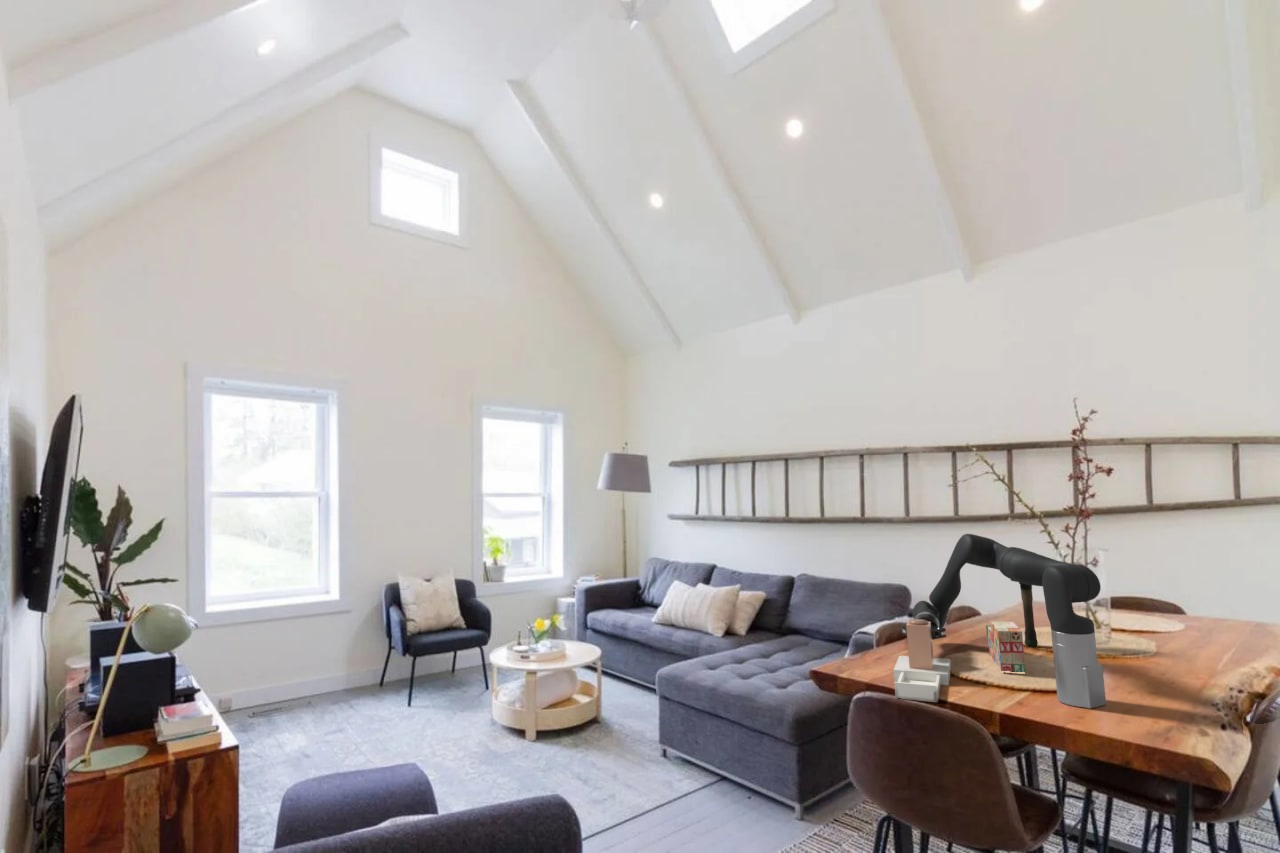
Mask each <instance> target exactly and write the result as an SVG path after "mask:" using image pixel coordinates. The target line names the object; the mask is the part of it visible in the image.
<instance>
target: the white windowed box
mask: <svg viewBox="0 0 1280 853" xmlns="http://www.w3.org/2000/svg"><path fill="white" fill-rule="evenodd" d="M933 659H934V666H933V670H927V669H914V668H910V667H909V655H899V656H898V658H897V661H896V663H895V665H894V668H893V681H894V682H897V681H898V679H899V676H900V673H901V672H904V679H905V680H913V681H925V682H935V681H936V676H937V675H940V682H941V686H949V685H950V678H951V673H950V670H951V671H952V666H951V665H952V664H951V658H940V657H933Z"/></svg>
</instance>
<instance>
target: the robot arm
mask: <svg viewBox="0 0 1280 853" xmlns="http://www.w3.org/2000/svg"><path fill="white" fill-rule="evenodd" d="M966 564H969V565H971V566H972V565H973V566H977V567H981V568H989V569H992V570H993V569H994V570H999V572H1000V573H1001V574H1002V575H1003V576H1004V577H1006V578H1008V579H1009V580H1011V579H1012V580H1014V581H1013V582H1015V581H1017V583H1018V584H1019V583H1023V584H1027V585H1032V586H1035V587H1042V590H1043V597H1044V602H1045V610H1046V616H1047V618H1048V621H1049V624H1050V633H1051V643H1052V655H1053V663H1054V665H1053V666H1054V675H1055V677H1054V678H1055V686H1056V687H1055V688H1056V694H1057V696H1056V697H1057V700H1058V701H1059V702H1060V703H1063V704H1065V705H1068V706H1073V707H1078V708H1081V707H1082V708H1086V709H1094V708H1098V707H1101V706H1105V705H1107V699H1106V698H1107V697H1106V689H1105V680H1104V679H1105V678H1104V668H1103V665H1102V664H1101V663H1099V661H1098V653H1097V652H1098V651H1097V642H1096V641H1097V639H1096V632H1095V624H1094V623H1095V622H1094V621H1093V620H1092V619H1091V618H1089V617H1086V616H1082V615H1080V614H1077V613H1076V612H1075V611H1074V609H1073V603H1074V604H1075V603H1076V604H1077V603H1087V602H1090V601H1092V600H1095V599H1096V598H1097V597H1098V596H1099V594H1100V592H1101V590H1102V589H1101V582H1100V579H1099V578H1098V576H1097V574H1096V573H1095V572H1094V570H1092V569H1090V568H1089V567H1088V566H1085V565H1083V564H1077V563H1071V562H1065V561H1061V560H1056V559H1053V558H1052V557H1051V558H1050V557H1048V556H1045V555H1042V554H1039V553H1036V552H1034V553H1033V552H1032V551H1030V550H1027V549H1024V548H1020V547H1015V546H1014V547H1013V546H1009V547H1007V546H1006V545H1004V544H1002V543H1000V542H997V541H996V540H994V539H992V538H989V537H986V536H981V535H977V534H973V533H965V534H962V535H961V536H960V537H959V539H958V541H957V542H956V544H955V546H954V548H953V550H952V553H951V555H950V557H949V560H948V561H947V564H946V567H945V569H944V572H943V574H942V576H941V577H940V580H939V581H938V582H937V584H936V585H935V587H934V588H933V590H932V591H931V592H930V593H929V596H928V599H929V602H928V601H927V600H920V601H917V602H916V603H915V605H914V607H913V609H912V617H913V618H912V619H923V620H927V621H928V622H931V634H932V641H933V640H938V639H944V638H946V637H947V630H946V628H945V627H944V626H945V624H946V622H947V617H948V613H949V611H950V608H951V606H952V605H953V604H954V603H955V601H956V600H957V598H958V597H959V596H960V593H961V590H962V581H961V580H962V579H961V569H962V568H963V567H964V566H965V565H966ZM901 627H902V628H901V630H902V636H905V637H907V629H906V625H901Z"/></svg>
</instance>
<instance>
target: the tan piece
mask: <svg viewBox="0 0 1280 853" xmlns="http://www.w3.org/2000/svg"><path fill="white" fill-rule="evenodd" d="M905 626H906V629H907V636H906V641H907V655H908V656H909V667H910V668H914V669H927V670H933V666H934V659H933V658H934V651H933V649H934V648H933V647H934V646H933V640H932V634H931V622H928V621H927V620H923V619H914V618H912V619H909V620H908V621H907V622H906V625H905Z"/></svg>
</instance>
